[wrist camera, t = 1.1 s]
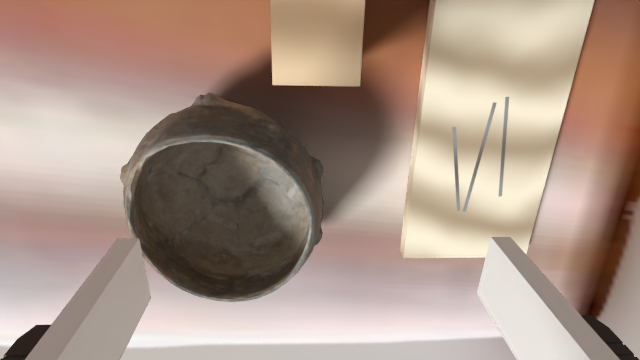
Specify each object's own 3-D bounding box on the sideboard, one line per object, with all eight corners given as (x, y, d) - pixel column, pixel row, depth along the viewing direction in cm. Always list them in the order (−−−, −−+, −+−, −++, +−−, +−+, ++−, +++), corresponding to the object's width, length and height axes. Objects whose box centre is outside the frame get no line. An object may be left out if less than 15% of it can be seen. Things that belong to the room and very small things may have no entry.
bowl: (224, 52, 31) (192, 68, 21) (358, 175, 35) (379, 232, 26) (123, 172, 34) (58, 230, 25) (257, 270, 39) (244, 349, 30)
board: (432, -23, 29) (439, -24, 28) (585, -18, 30) (599, -20, 29) (399, 249, 39) (403, 258, 37) (517, 248, 39) (525, 257, 38)
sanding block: (278, -67, 28) (267, -107, 19) (348, -64, 28) (371, -103, 19) (280, 64, 31) (272, 85, 22) (342, 65, 32) (360, 86, 22)
